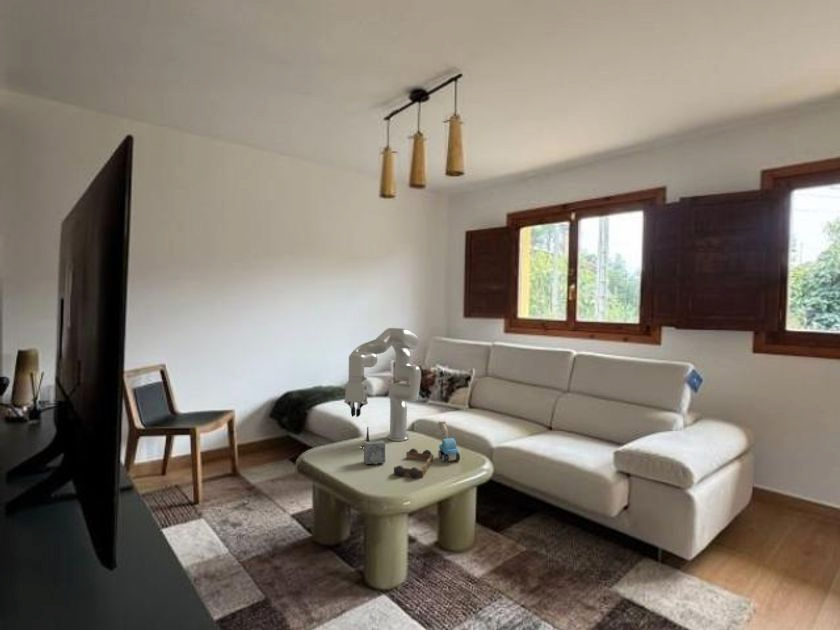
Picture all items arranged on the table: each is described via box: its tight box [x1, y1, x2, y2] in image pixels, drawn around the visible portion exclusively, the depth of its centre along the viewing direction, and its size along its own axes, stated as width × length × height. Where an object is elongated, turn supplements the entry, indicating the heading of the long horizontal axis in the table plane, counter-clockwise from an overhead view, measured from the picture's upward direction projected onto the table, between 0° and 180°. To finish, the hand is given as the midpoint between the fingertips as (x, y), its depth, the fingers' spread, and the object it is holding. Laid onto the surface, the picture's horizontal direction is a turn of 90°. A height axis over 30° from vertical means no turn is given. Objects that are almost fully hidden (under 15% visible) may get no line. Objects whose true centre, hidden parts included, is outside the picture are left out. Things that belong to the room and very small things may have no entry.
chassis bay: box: [393, 448, 434, 479], centre depth 218 cm, size 26×14×4 cm, turn 166°
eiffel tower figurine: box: [360, 426, 371, 451], centre depth 243 cm, size 15×10×13 cm
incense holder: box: [363, 440, 386, 466], centre depth 222 cm, size 10×8×10 cm
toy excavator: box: [437, 420, 461, 463], centre depth 231 cm, size 9×17×17 cm, turn 18°
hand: (355, 415), depth 224 cm, fingers closed
